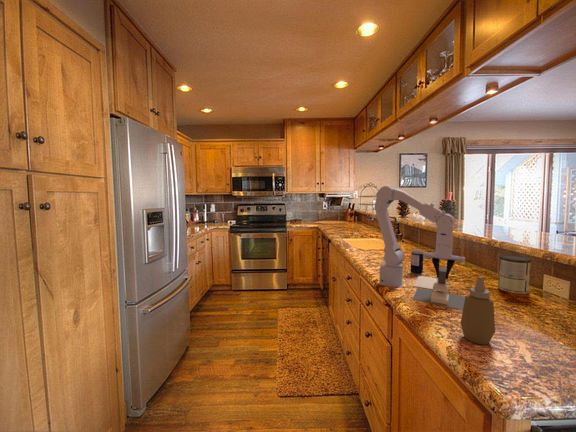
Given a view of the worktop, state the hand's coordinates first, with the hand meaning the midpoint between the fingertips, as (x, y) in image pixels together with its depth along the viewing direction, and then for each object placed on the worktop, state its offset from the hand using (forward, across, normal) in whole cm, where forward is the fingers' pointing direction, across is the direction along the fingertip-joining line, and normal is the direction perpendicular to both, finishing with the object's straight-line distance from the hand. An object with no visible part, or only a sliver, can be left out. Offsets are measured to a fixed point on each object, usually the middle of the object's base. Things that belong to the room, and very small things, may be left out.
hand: (442, 277), depth 111 cm
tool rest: (+7, +7, -11) cm, 15 cm away
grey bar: (+3, 0, +1) cm, 3 cm away
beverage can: (+7, +13, -26) cm, 30 cm away
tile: (+6, 0, +5) cm, 8 cm away
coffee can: (+7, -25, -24) cm, 35 cm away
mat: (+7, 0, +6) cm, 9 cm away
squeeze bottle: (+7, -11, +33) cm, 36 cm away
